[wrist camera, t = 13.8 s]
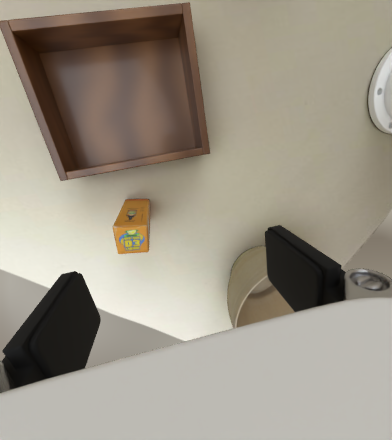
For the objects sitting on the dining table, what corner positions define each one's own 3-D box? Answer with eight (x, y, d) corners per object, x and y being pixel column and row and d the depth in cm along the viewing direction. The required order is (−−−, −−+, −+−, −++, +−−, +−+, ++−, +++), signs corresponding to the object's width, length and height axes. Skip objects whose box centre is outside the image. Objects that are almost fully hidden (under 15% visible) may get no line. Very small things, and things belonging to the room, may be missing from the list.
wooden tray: (183, 29, 24) (189, 1, 19) (201, 152, 29) (210, 153, 24) (29, 47, 22) (-3, 20, 17) (76, 175, 27) (60, 181, 22)
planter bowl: (244, 321, 40) (274, 379, 30) (193, 269, 34) (209, 320, 24) (311, 270, 39) (366, 313, 29) (271, 208, 33) (321, 234, 23)
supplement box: (127, 222, 30) (114, 255, 21) (125, 198, 29) (110, 222, 19) (151, 221, 30) (149, 253, 21) (150, 198, 29) (147, 221, 20)
